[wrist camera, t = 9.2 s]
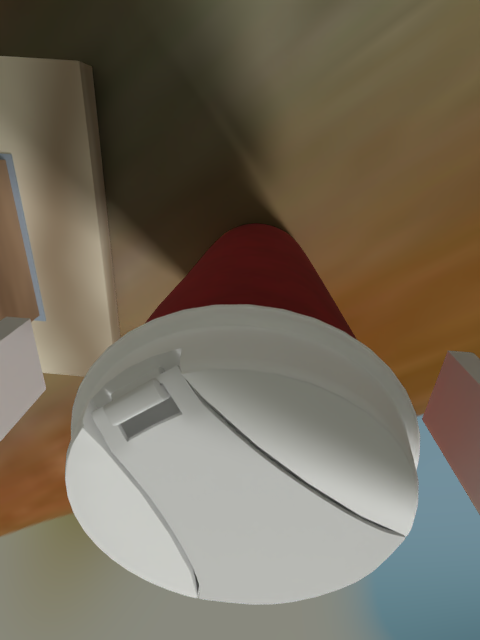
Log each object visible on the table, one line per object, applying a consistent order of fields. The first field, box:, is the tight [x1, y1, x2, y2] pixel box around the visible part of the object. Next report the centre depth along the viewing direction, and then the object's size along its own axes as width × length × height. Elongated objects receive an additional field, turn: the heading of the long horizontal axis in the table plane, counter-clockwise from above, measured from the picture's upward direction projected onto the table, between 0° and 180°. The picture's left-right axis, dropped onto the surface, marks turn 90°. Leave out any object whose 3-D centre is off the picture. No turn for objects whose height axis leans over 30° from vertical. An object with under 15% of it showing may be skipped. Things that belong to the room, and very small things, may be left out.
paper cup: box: [65, 224, 420, 604], centre depth 13 cm, size 8×8×14 cm
